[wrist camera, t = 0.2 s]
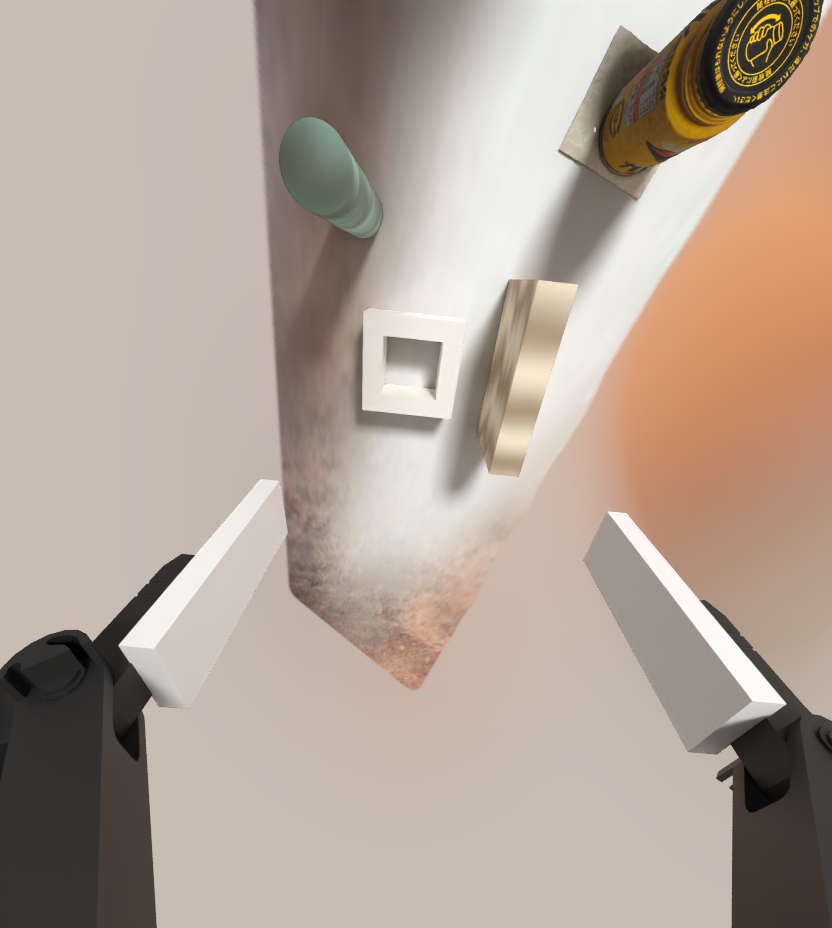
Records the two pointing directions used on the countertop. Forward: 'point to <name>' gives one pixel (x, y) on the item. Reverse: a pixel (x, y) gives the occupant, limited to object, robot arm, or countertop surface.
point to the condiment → (686, 85)
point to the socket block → (421, 328)
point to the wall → (521, 369)
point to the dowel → (328, 178)
